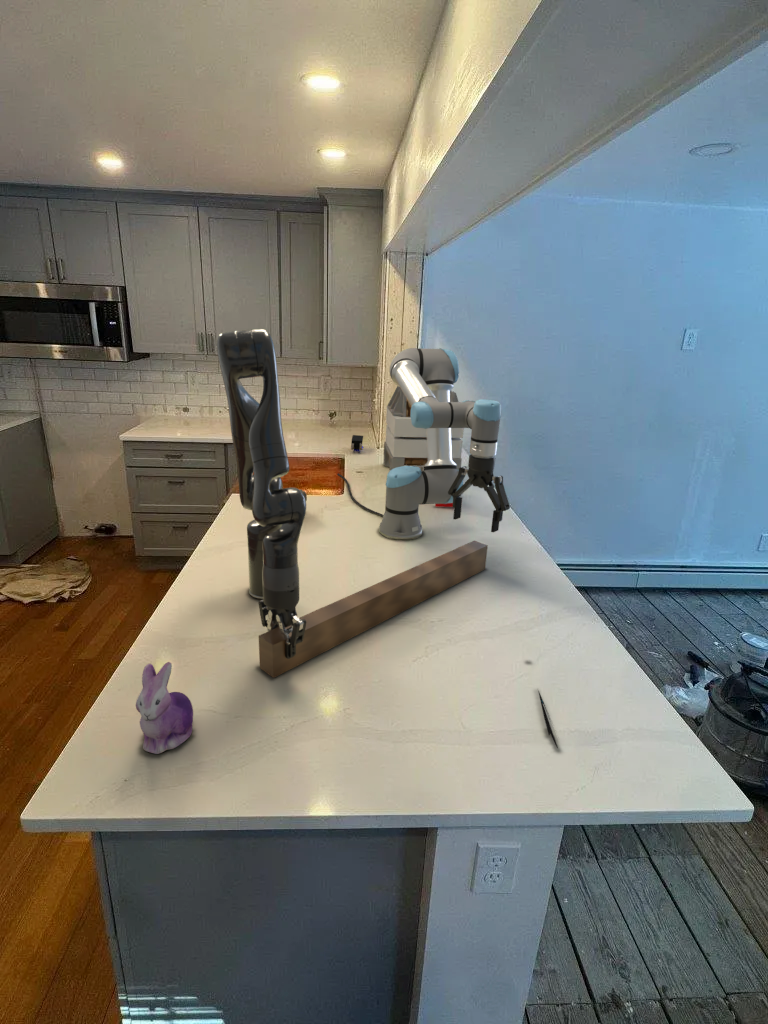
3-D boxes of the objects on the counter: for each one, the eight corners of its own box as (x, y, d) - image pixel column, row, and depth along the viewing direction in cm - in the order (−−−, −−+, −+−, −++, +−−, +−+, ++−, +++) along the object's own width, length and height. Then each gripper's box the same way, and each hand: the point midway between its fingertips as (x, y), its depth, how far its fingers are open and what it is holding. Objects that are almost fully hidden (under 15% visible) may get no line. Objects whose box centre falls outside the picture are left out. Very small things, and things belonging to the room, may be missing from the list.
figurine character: (362, 456, 306) (363, 447, 319) (363, 443, 302) (363, 434, 316) (350, 456, 306) (351, 446, 319) (350, 442, 302) (351, 433, 316)
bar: (471, 564, 179) (474, 540, 176) (485, 569, 175) (487, 545, 173) (259, 667, 123) (258, 635, 121) (273, 678, 120) (272, 645, 117)
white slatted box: (382, 463, 289) (386, 382, 275) (445, 464, 293) (451, 384, 279) (390, 482, 257) (394, 392, 243) (460, 483, 261) (468, 394, 247)
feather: (529, 666, 130) (534, 660, 129) (557, 753, 103) (564, 745, 103) (523, 662, 130) (528, 656, 129) (550, 748, 103) (556, 741, 103)
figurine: (143, 764, 96) (134, 690, 91) (137, 726, 105) (128, 657, 100) (201, 747, 100) (195, 676, 95) (190, 712, 109) (184, 645, 104)
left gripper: (245, 575, 120) (248, 644, 125) (287, 599, 111) (289, 673, 116) (274, 565, 125) (276, 632, 131) (317, 587, 116) (317, 658, 122)
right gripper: (439, 448, 167) (434, 516, 174) (513, 466, 151) (504, 540, 158) (455, 445, 172) (449, 510, 180) (527, 462, 156) (518, 533, 164)
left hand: (282, 651), depth 123 cm, fingers closed on bar, 5 cm apart
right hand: (475, 524), depth 169 cm, fingers open, 13 cm apart
